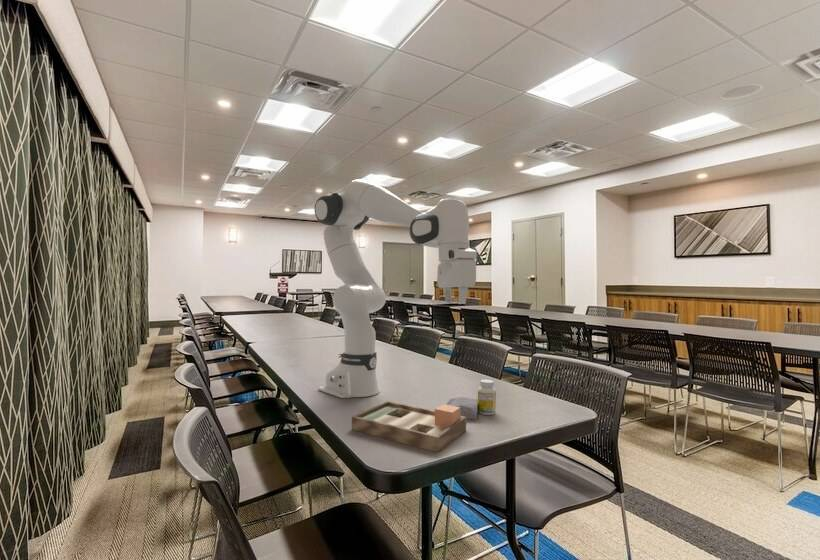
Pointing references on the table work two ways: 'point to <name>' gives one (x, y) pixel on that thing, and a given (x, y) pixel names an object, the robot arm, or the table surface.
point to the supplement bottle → (486, 397)
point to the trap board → (407, 425)
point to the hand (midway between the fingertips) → (455, 303)
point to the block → (446, 415)
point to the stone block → (465, 406)
